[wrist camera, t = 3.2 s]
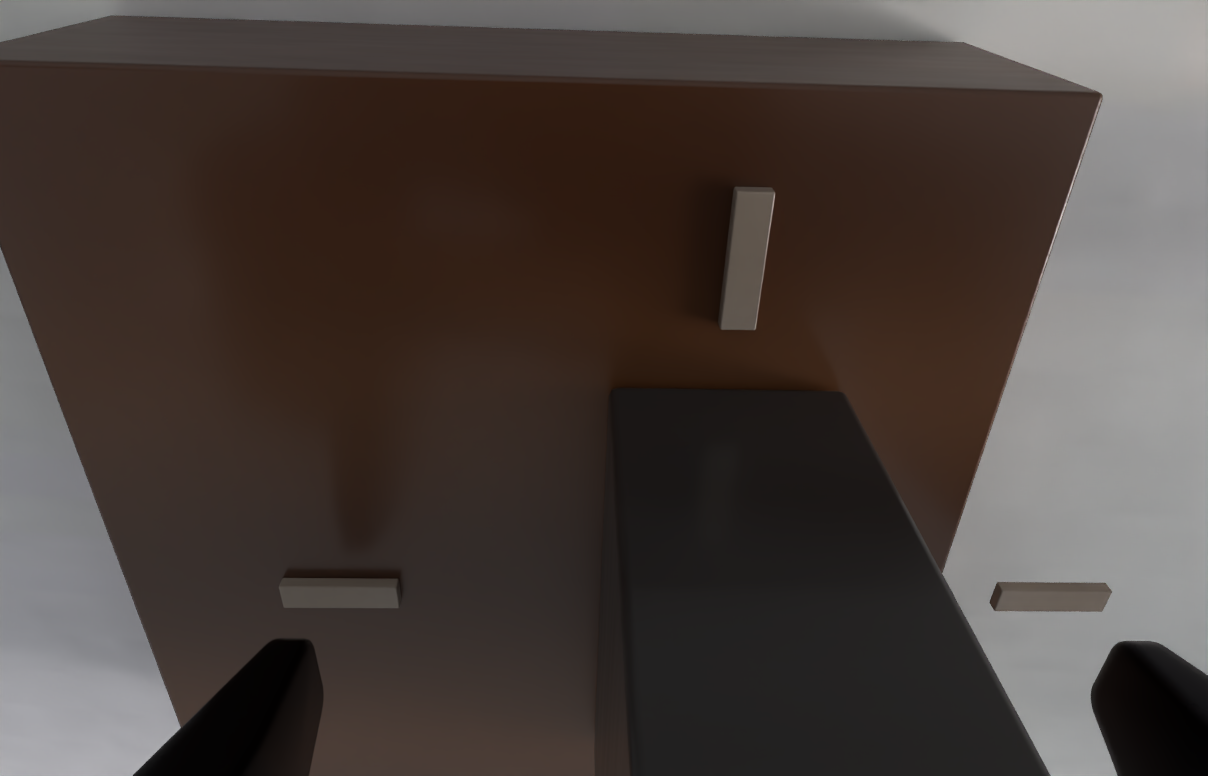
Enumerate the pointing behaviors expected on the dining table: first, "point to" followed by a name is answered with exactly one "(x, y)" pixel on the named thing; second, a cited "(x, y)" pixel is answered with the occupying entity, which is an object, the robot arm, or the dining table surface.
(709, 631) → the handle
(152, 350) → the panel
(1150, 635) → the dining table surface
